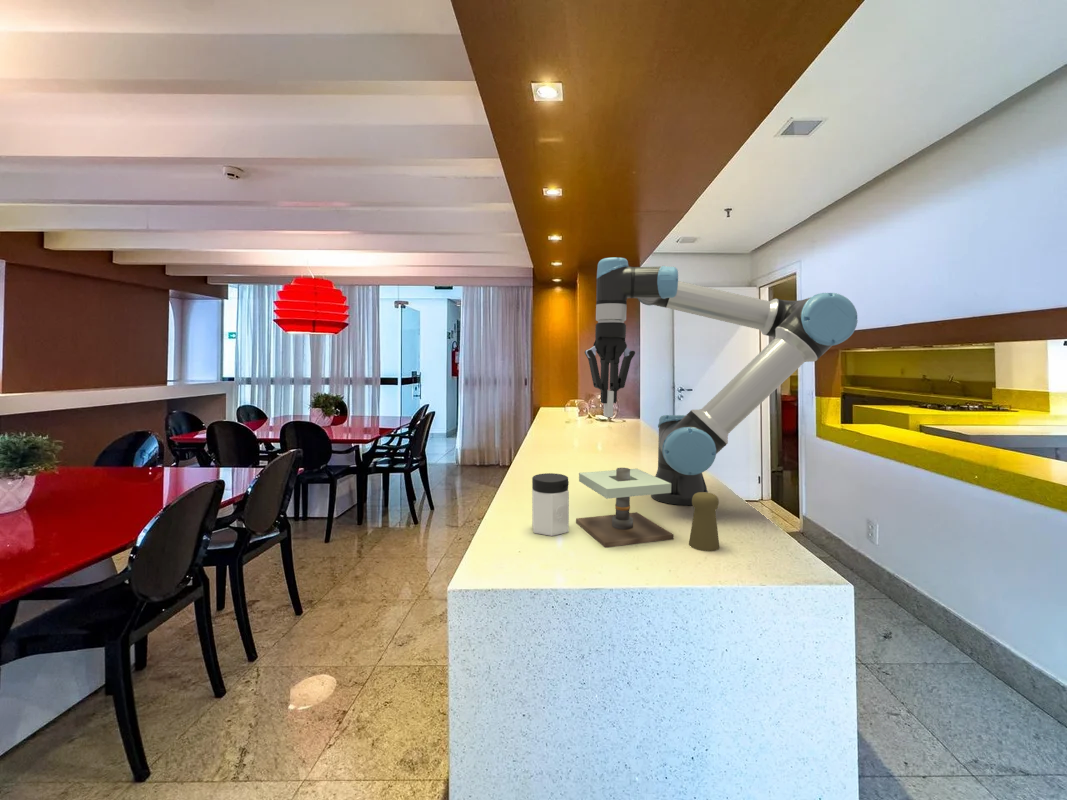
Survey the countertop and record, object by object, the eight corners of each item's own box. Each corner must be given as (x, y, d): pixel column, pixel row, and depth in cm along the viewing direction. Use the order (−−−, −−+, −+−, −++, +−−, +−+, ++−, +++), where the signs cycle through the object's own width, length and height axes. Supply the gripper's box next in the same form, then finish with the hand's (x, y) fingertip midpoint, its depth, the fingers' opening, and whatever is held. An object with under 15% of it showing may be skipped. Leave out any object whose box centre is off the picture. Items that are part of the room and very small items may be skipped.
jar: (544, 538, 106) (544, 483, 105) (523, 528, 113) (523, 476, 112) (577, 530, 111) (577, 478, 110) (555, 520, 117) (555, 471, 116)
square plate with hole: (636, 476, 119) (636, 468, 119) (671, 492, 105) (671, 483, 105) (579, 481, 115) (579, 472, 115) (606, 498, 101) (606, 489, 100)
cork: (682, 542, 103) (683, 491, 103) (704, 538, 106) (706, 488, 105) (702, 553, 98) (704, 498, 97) (726, 548, 100) (727, 495, 99)
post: (636, 516, 121) (637, 459, 120) (673, 539, 105) (674, 474, 104) (575, 522, 116) (576, 464, 115) (605, 547, 101) (605, 480, 100)
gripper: (628, 324, 128) (625, 414, 130) (581, 322, 125) (578, 414, 127) (641, 322, 121) (638, 417, 123) (591, 320, 118) (589, 418, 120)
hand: (608, 416), depth 125 cm, fingers closed
